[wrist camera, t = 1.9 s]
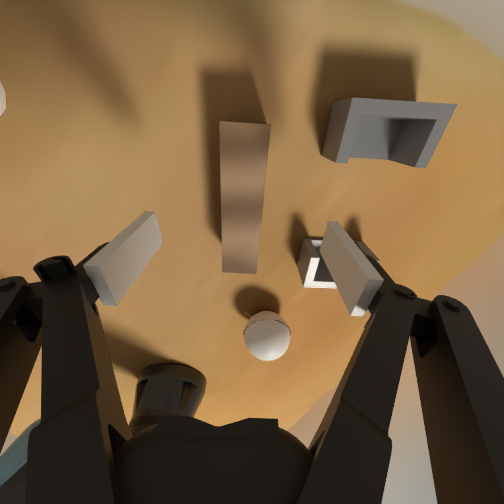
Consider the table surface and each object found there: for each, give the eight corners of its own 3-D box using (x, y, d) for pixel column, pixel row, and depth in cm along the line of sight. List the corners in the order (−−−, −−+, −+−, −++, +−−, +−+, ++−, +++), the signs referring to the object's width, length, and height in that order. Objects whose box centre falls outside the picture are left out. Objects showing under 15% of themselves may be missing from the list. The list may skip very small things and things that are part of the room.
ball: (291, 323, 36) (299, 365, 30) (253, 332, 38) (253, 373, 32) (275, 284, 31) (281, 325, 25) (231, 296, 33) (227, 337, 27)
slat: (255, 250, 28) (256, 273, 24) (226, 249, 28) (222, 272, 24) (266, 123, 20) (270, 124, 16) (226, 120, 20) (219, 120, 16)
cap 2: (332, 101, 19) (352, 97, 15) (416, 107, 19) (457, 104, 15) (320, 155, 21) (335, 162, 17) (395, 159, 21) (426, 167, 18)
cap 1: (351, 267, 29) (366, 289, 26) (296, 265, 29) (303, 286, 25) (362, 241, 27) (380, 260, 23) (302, 238, 27) (311, 257, 23)
